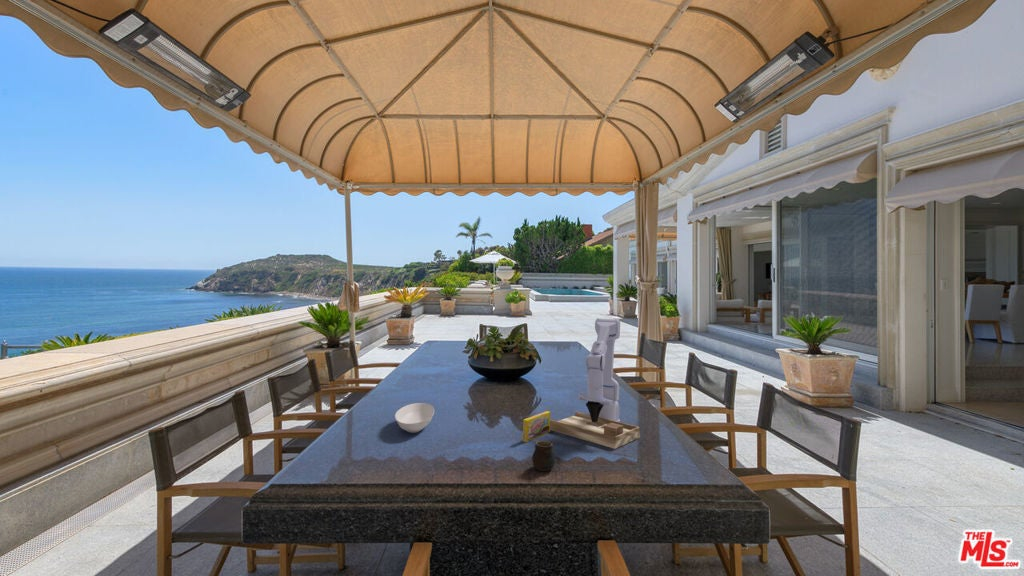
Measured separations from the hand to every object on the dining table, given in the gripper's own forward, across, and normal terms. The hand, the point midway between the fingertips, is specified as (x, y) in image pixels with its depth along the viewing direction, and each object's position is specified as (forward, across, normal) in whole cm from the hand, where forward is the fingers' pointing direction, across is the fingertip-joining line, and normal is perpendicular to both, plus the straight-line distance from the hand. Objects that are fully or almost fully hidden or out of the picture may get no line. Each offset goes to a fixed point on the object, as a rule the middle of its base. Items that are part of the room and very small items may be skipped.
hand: (594, 421), depth 176 cm
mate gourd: (+6, +6, -37) cm, 38 cm away
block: (+4, +8, 0) cm, 9 cm away
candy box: (+6, -16, -15) cm, 23 cm away
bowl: (+6, -57, -42) cm, 71 cm away
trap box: (+6, -3, +4) cm, 8 cm away
